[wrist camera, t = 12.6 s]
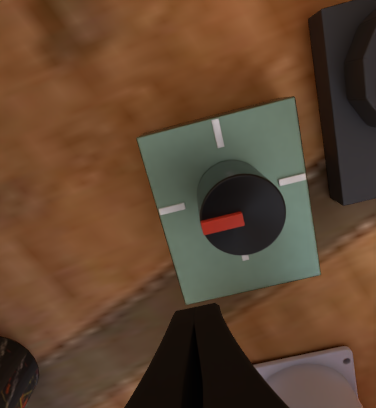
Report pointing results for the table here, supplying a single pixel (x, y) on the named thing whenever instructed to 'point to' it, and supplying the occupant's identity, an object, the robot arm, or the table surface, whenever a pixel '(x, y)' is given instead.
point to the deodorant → (16, 374)
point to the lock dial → (239, 208)
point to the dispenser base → (347, 96)
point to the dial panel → (188, 205)
